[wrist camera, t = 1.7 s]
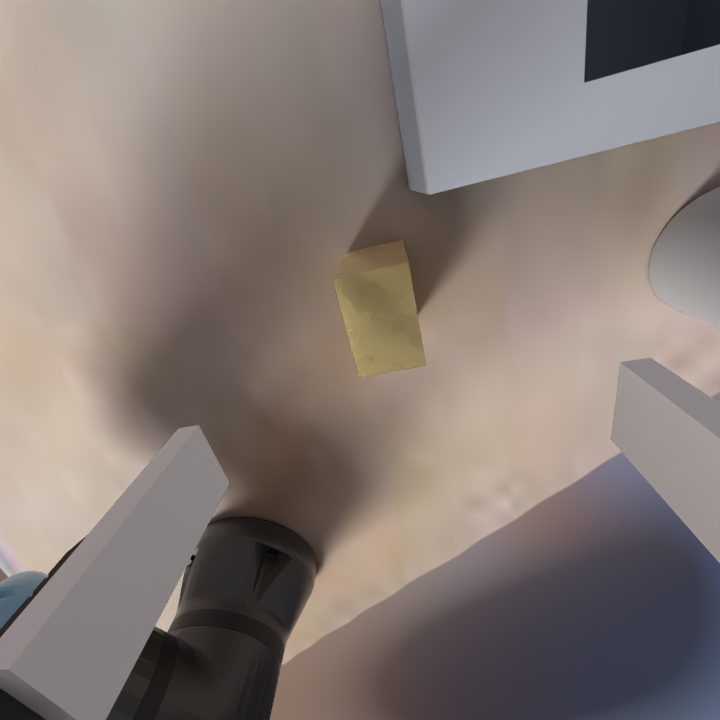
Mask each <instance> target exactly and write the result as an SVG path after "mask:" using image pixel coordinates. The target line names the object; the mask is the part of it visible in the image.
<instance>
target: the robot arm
mask: <svg viewBox="0 0 720 720" xmlns="http://www.w3.org/2000/svg"><path fill="white" fill-rule="evenodd" d="M611 440H612V441H613V442H614V443H615V444H616V446H617V447H618V448H619V449H620V450H621V451H622V452H623V453H624V455H625V456H626V457H627V458H628V459H629V460H630V461H631V463H632V464H633V465H634V466H635V467H636V468H637V469H638V470H639V472H640V473H641V474H642V475H643V476H644V477H645V479H646V480H647V481H648V482H649V483H650V484H651V485H652V487H653V488H654V489H655V490H656V491H657V492H658V493H659V494H660V496H661V497H662V498H663V499H664V500H665V501H666V502H667V503H668V505H669V506H670V507H671V508H672V509H673V510H674V511H675V513H676V514H677V515H678V516H679V517H680V518H681V520H682V521H683V522H684V523H685V524H686V525H687V526H688V527H689V529H690V530H691V531H692V532H693V533H694V534H695V535H696V537H697V538H698V539H699V540H700V541H701V542H702V543H703V544H704V546H705V547H706V548H707V549H708V550H709V551H710V553H711V554H712V555H713V556H714V557H715V558H716V559H717V560H718V562H719V563H720V404H719V403H718V402H717V401H715V400H714V399H712V398H711V397H709V396H708V395H706V394H705V393H703V392H701V391H700V390H698V389H697V388H695V387H694V386H692V385H691V384H689V383H688V382H686V381H685V380H683V379H682V378H680V377H679V376H677V375H676V374H674V373H673V372H671V371H670V370H668V369H667V368H665V367H664V366H662V365H661V364H659V363H658V362H656V361H654V360H653V359H651V358H647V359H640V360H633V361H626V362H620V368H619V376H618V384H617V392H616V400H615V408H614V416H613V424H612V432H611ZM229 484H230V483H229V481H228V479H227V477H226V475H225V473H224V472H223V470H222V468H221V466H220V464H219V462H218V460H217V458H216V456H215V455H214V453H213V451H212V449H211V447H210V445H209V443H208V441H207V439H206V438H205V436H204V434H203V432H202V430H201V428H200V426H199V425H195V426H189V427H182V428H178V430H177V431H176V432H175V433H174V434H173V435H172V437H171V438H170V439H169V440H168V441H167V442H166V444H165V445H164V446H163V447H162V448H161V450H160V451H159V452H158V453H157V454H156V455H155V457H154V458H153V459H152V460H151V461H150V462H149V464H148V465H147V466H146V467H145V468H144V469H143V471H142V472H141V473H140V474H139V475H138V477H137V478H136V479H135V480H134V481H133V482H132V484H131V485H130V486H129V487H128V488H127V489H126V491H125V492H124V493H123V494H122V495H121V497H120V498H119V499H118V500H117V501H116V502H115V504H114V505H113V506H112V507H111V508H110V509H109V511H108V512H107V513H106V514H105V515H104V517H103V518H102V519H101V520H100V521H99V522H98V524H97V525H96V526H95V527H94V528H93V529H92V531H91V532H90V533H89V534H88V535H87V536H86V537H85V538H83V539H82V540H81V541H80V542H79V543H78V544H76V545H75V546H74V547H73V548H72V549H70V550H69V551H68V552H67V553H66V554H65V555H64V556H63V558H62V559H61V560H60V561H59V562H58V563H57V564H56V566H55V567H54V568H53V569H52V570H51V571H50V573H49V574H48V575H47V574H44V573H42V572H38V571H27V572H22V573H18V574H15V575H13V576H11V577H9V578H7V579H5V580H3V581H2V582H0V720H270V716H271V711H272V706H273V702H274V697H275V692H276V687H277V682H278V678H279V674H280V669H281V663H282V659H283V655H284V650H285V646H286V643H287V640H288V638H289V636H290V634H291V632H292V630H293V628H294V626H295V624H296V622H297V620H298V618H299V616H300V614H301V612H302V611H303V609H304V607H305V605H306V602H307V600H308V598H309V597H310V595H311V593H312V590H313V587H314V581H315V576H316V571H317V562H316V558H315V555H314V553H313V551H312V550H311V548H310V547H309V546H308V544H307V543H306V542H305V541H304V540H303V539H301V538H300V537H299V536H298V535H296V534H295V533H293V532H292V531H290V530H288V529H286V528H284V527H282V526H280V525H277V524H274V523H271V522H268V521H264V520H259V519H253V518H230V519H225V520H221V521H217V522H215V523H213V524H211V525H209V526H208V524H209V522H210V520H211V518H212V516H213V514H214V512H215V510H216V508H217V507H218V505H219V503H220V501H221V499H222V497H223V495H224V493H225V491H226V489H227V487H228V486H229ZM185 568H186V569H185ZM184 570H185V573H184V578H183V583H182V588H181V593H180V598H179V604H178V609H177V613H176V616H175V618H174V620H173V622H172V624H171V626H170V628H169V630H168V632H165V631H163V630H161V629H159V628H157V627H155V625H156V623H157V621H158V619H159V617H160V615H161V613H162V612H163V610H164V608H165V606H166V604H167V602H168V600H169V598H170V596H171V594H172V592H173V591H174V589H175V587H176V585H177V583H178V581H179V579H180V577H181V575H182V573H183V571H184Z"/></svg>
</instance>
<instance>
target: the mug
mask: <svg viewBox="0 0 720 720" xmlns="http://www.w3.org/2000/svg"><path fill="white" fill-rule="evenodd" d="M648 277H649V282H650V285H651V288H652V290H653V292H654V293H655V295H656V296H657V297H658V298H659V299H660V300H661V301H662V302H663V303H664V304H666V305H667V306H669V307H671V308H673V309H675V310H677V311H679V312H682V313H684V314H687V315H689V316H692V317H694V318H697V319H699V320H702V321H704V322H707V323H709V324H711V325H714V326H716V327H719V328H720V187H718V188H715V189H713V190H711V191H709V192H707V193H705V194H703V195H701V196H700V197H698V198H696V199H695V200H694V201H692V202H691V203H689V204H688V205H687V206H685V207H684V208H683V209H682V210H681V211H680V212H679V213H678V214H677V215H676V216H675V217H674V218H673V219H672V220H671V221H670V222H669V223H668V224H667V226H666V227H665V228H664V230H663V231H662V233H661V234H660V236H659V237H658V239H657V241H656V243H655V245H654V247H653V250H652V252H651V256H650V260H649V267H648Z"/></svg>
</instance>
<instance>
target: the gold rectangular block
mask: <svg viewBox="0 0 720 720" xmlns="http://www.w3.org/2000/svg"><path fill="white" fill-rule="evenodd" d="M332 280H333V283H334V287H335V291H336V294H337V298H338V302H339V305H340V309H341V313H342V316H343V320H344V324H345V328H346V331H347V335H348V339H349V342H350V346H351V350H352V353H353V357H354V361H355V365H356V368H357V372H358V376H359V377H363V376H369V375H375V374H380V373H386V372H392V371H398V370H404V369H410V368H416V367H421V366H426V362H425V356H424V350H423V344H422V338H421V332H420V326H419V320H418V314H417V308H416V302H415V296H414V291H413V285H412V279H411V273H410V267H409V261H408V258H407V254H406V251H405V247H404V244H403V240H397V241H393V242H389V243H385V244H380V245H376V246H372V247H367V248H363V249H359V250H355V251H350V252H347V254H346V256H345V258H344V260H343V261H342V263H341V265H340V267H339V268H338V270H337V272H336V274H335V275H334V277H333V279H332Z"/></svg>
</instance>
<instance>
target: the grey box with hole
mask: <svg viewBox="0 0 720 720" xmlns="http://www.w3.org/2000/svg"><path fill="white" fill-rule="evenodd" d="M380 3H381V10H382V16H383V23H384V29H385V36H386V42H387V49H388V55H389V62H390V68H391V75H392V81H393V88H394V94H395V101H396V107H397V114H398V120H399V127H400V133H401V140H402V146H403V153H404V159H405V166H406V172H407V179H408V185H409V190H412V191H416V192H420V193H424V194H428V195H431V194H434V193H438V192H442V191H446V190H450V189H454V188H458V187H462V186H466V185H470V184H474V183H478V182H482V181H486V180H490V179H494V178H498V177H502V176H506V175H510V174H514V173H518V172H522V171H526V170H530V169H534V168H538V167H542V166H546V165H550V164H554V163H558V162H562V161H566V160H570V159H574V158H578V157H582V156H586V155H590V154H594V153H597V152H601V151H605V150H609V149H613V148H617V147H621V146H625V145H629V144H633V143H637V142H641V141H645V140H649V139H653V138H657V137H661V136H665V135H669V134H673V133H677V132H681V131H685V130H689V129H693V128H697V127H701V126H705V125H709V124H713V123H717V122H720V0H380Z"/></svg>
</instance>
